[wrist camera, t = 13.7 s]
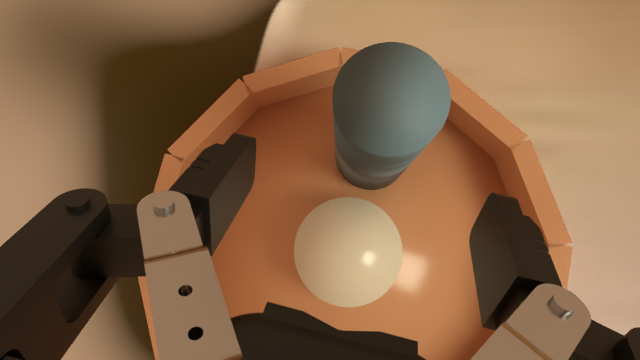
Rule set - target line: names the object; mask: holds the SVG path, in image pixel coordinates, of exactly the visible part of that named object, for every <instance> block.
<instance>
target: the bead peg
mask: <svg viewBox="0 0 640 360" xmlns="http://www.w3.org/2000/svg"><path fill="white" fill-rule="evenodd" d="M450 103H451V94H450V87H449V84H448V81H447V78H446V76H445V74H444V72H443V70H442V69H441V67H440V66H439V65H438V63H437V62H436V61H435V60H434V59H433V58H432V57H431V56H429V55H428V54H427V53H425V52H424V51H422V50H420V49H418V48H416V47H414V46H411V45H407V44H404V43H397V42H386V43H378V44H374V45H371V46H368V47H366V48H364V49H362V50H360V51H358V52H357V53H356V54H354V55H353V56H352V57H351V58H349V59H348V60H347V61H346V63H345V64H344V65H343V66H342V68H341V69H340V71H339V73H338V75H337V77H336V79H335V83H334V86H333V92H332V105H333V122H334V140H335V157H336V163H337V167H338V169H339V171H340V173H341V175H342V176H343V177H344V178H345V179H346V180H347V181H348V182H349V183H350V184H352V185H354V186H356V187H358V188H361V189H365V190H377V189H382V188H384V187H387V186H389V185H390V184H392V183H393V182H394V181H395V180H396V179H398V177H399V176H400V175H401V174H402V173H403V172H404V171H405V170H406V168H407V167H408V166H409V165H410V164H411V163H412V162H413V161H414V160H415V158H416V157H417V156H418V155H419V154H420V153H421V152H422V151H423V150H424V148H425V147H426V146H427V145H428V144H429V143H430V142H431V141H432V139H433V138H434V137H435V136H436V135H437V134H438V132H439V131H440V130H441V129H442V127H443V125H444V124H445V122H446V119H447V117H448V114H449V110H450Z"/></svg>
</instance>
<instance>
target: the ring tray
mask: <svg viewBox="0 0 640 360" xmlns="http://www.w3.org/2000/svg"><path fill="white" fill-rule="evenodd" d="M358 51H359V50H354V49H349V48H344V47H342V50H341V54H340V52H339V49H338V48H334V49H331V50H328V51H324V52H321V53H318V54H314V55H311V56H308V57H305V58H301V59H298V60H295V61H291V62H288V63H285V64H281V65H278V66H275V67H271V68H268V69H265V70H261V71H258V72H255V73H252V74H248V75H245V76H243V79H244V83H245V84H244V83H243V82H242V81H241V80H240V79H238V80H237V81H236V82H235V83H234V84H233V85H232V86H231V87H230V88H229V89H228V90H227V91H226V92H225V93H224V94H223V95H222V96H221V97H220V98H219V99H218V100H217V101H216V102H215V103H214V104H213V105H212V106H211V107H210V108H209V109H208V110H207V111H206V112H205V113H204V114H203V115H202V116H201V117H200V118H199V119H198V120H197V121H196V122H195V123H194V124H193V125H192V126H191V127H190V128H189V129H188V130H187V131H186V132H185V133H184V134H183V135H182V136H181V137H179V138H178V140H176V142H175V143H174V144H172V145H171V146H170V147H169V149H168V151H169V152H170V153H171V154H172V155H169V154H165V155H164V158H163V162H162V165H161V168H160V171H159V175H158V178H157V181H156V185H155V188H154V191H153V193H154V192H158V191H168V190H169V188H170V187H171V186H172V185H173V184H174V183H175V182H176V180H177V179H178V178H179V177H180V176H181V175H182V174H183V173H184V171H185V170H186V169H187V168H188V167H190V165H191V163H192V162H193V161H194V160H196V158H197V157H198V155H199V154H200V153H201V152H202V151H203V150H204V149H206V148H207V147H209V146H211V145H213V144H215V143H218V144H223V145H224V144H225V142H226V141H227V140H228V139H229V137H230V136H231V135H232V134H233V133H238V134H243V135H247V136H251V137H255V138H256V164H255V178H254V182H253V186H252V188H251V190H250V192H249V194H248V196H247V197H246V199H245V201H244V203H243V204H242V206H241V208H240V209H239V211H238V213H237V214H236V216H235V218H234V220H233V221H232V223H231V225H230V226H229V228H228V230H227V231H226V233H225V235H224V237H223V238H222V240H221V242H220V243H219V245H218V247H217V249H216V250H215V252H214V254H213V255H212V256H211V259H212V262H213V266H214V269H215V272H216V275H217V278H218V281H219V284H220V287H221V291H222V294H223V297H224V300H225V303H226V306H227V309H228V313H229V316H230V318H232V317H235V316H238V315H243V314H248V313H263V311H264V309H265V306H266V303H267V302H271V303H275V304H278V305H282V306H286V307H290V308H294V309H297V310H301V311H304V312H306V313H308V314H310V315H312V316H313V317H315V318H317V319H319V320H321V321H323V322H325V323H327V324H329V325H330V326H332V327H334V328H336V329H338V330H344V331H380V332H384V333H388V334H392V335H395V336H399V337H403V338H407V339H410V340H414V341H418V355H420V356H422V357H423V358H425V359H426V360H470V359H471V358H472V357H473V356H474V355H475V354H476V353H477V351H478V350H479V349H480V348H481V347H482V346H483V345H484V344H485V342H486V341H487V340H488V339H489V338H490V337H491V336H492V334H493V333H494V332H495V330H491V329H487V328H483V327H482V322H481V316H480V310H479V303H478V297H477V290H476V284H475V278H474V271H473V265H472V258H471V252H470V246H469V238H470V233H471V229H472V227H473V225H474V223H475V221H476V219H477V217H478V215H479V213H480V211H481V209H482V207H483V205H484V203H485V201H486V199H487V198H488V196H489V195H490V194H491V193H497V194H501V195H506V196H510V197H514V198H517V199H518V202H519V205H520V207H521V210H522V213H523V215H525V216H529V217H530V218H531V219H532V220H533V221H534V222H535V223H536V225H537V226H538V227H539V228H540V229H541V232H542V235H543V237H544V240H545V244H546V245H547V248H548V250H549V254H550V255H551V258H552V261H553V263H554V266H555V268H556V271H557V274H558V276H559V279H560V281H561V284H562V287H563V288H565V289H567V283H568V276H569V269H570V261H571V254H572V247H569V246H564V245H565V244H568V243H572V242H571V239H570V237H569V234H568V232H567V229H566V227H565V224H564V222H563V219H562V217H561V215H560V212H559V210H558V207H557V205H556V202H555V200H554V197H553V195H552V192H551V190H550V187H549V185H548V182H547V180H546V177H545V175H544V173H543V170H542V168H541V165H540V163H539V160H538V158H537V155H536V153H535V150H534V148H533V145H532V143H531V140H527V141H523V140H524V139H525V138H526V137H527V135H526V134H525V133H523V132H522V131H521V130H520V129H519V128H517V127H516V126H515V125H514V124H512V123H511V122H510V121H509V120H508V119H506V118H505V117H504V116H503V115H501V114H500V113H499V112H498V111H497V110H495V109H494V108H493V107H492V106H490V105H489V104H488V103H487V102H486V101H484V100H483V99H482V98H481V97H479V96H478V95H477V94H476V93H475V92H473V91H472V90H471V89H470V88H468V87H467V86H466V85H465V84H464V83H462V82H461V81H460V80H459V79H457V78H456V77H455V76H454V75H453V74H451V73H450V72H449V71H448V70H446V69H445V70H444V71H443V72H444V74H445V76H446V78H447V81H448V84H449V87H450V94H451V103H450V110H449V114H448V117H447V119H446V122H445V124H444V125H443V127H442V129H441V130H440V131H439V132H438V134H437V135H436V136H435V137H434V138H433V139H432V141H431V142H430V143H429V144H428V145H427V146H426V147H425V148H424V150H423V151H422V152H421V153H420V154H419V155H418V156H417V157H416V158H415V160H414V161H413V162H412V163H411V164H410V165H409V166H408V167H407V168H406V170H405V171H404V172H403V173H402V174H401V175H400V176H399V177H398V179H396V180H395V181H394V182H393V183H392V184H390V185H389V186H387V187H384V188H382V189H377V190H365V189H361V188H358V187H356V186H354V185H352V184H350V183H349V182H348V181H347V180H346V179H345V178H344V177H343V176H342V175H341V173H340V171H339V169H338V167H337V163H336V157H335V140H334V122H333V105H332V92H333V86H334V83H335V79H336V77H337V75H338V73H339V71H340V69H341V68H342V66H343V65H344V64H345V63H346V61H347V60H348V59H349V58H351V57H352V56H353V55H354V54H356V53H357V52H358ZM522 141H523V142H522ZM138 280H139V285H140V290H141V294H142V299H143V304H144V309H145V313H146V318H147V323H148V327H149V333H150V337H151V342H152V347H153V351H154V356H155V360H159V357H158V351H157V344H156V338H155V331H154V325H153V318H152V312H151V305H150V299H149V292H148V286H147V279H146V276H142V277H138Z"/></svg>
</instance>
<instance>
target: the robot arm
mask: <svg viewBox="0 0 640 360" xmlns="http://www.w3.org/2000/svg"><path fill="white" fill-rule="evenodd" d="M255 164H256V138H255V137H251V136H247V135H243V134H238V133H233V134H232V135H231V136H230V137H229V139H228V140H227V141H226V142H225V144H224V145H223V144H218V143H215V144H213V145H211V146H209V147H207V148H206V149H204V150H203V151H202V152H201V153H200V154H199V155H198V157H197V158H196V160H194V161H193V162H192V163H191V165H190V167H188V168H187V169H186V170H185V171H184V173H183V174H182V175H181V176H180V177H179V178H178V179H177V180H176V182H175V183H174V184H173V185H172V186H171V187H170V188H169V190H168V191H158V192H154V193H152V194H150V195H147V196H146V197H144V198H143V199H142V200H141V201H140V202H139V203H138V204H134V205H123V204H122V205H119V204H108V202H107V198H106V196H105V195H104V194H103V193H102V192H100V191H98V190H94V189H76V190H72V191H68V192H66V193H63V194H61V195H59V196H58V197H56V198H55V199H54V200H53V201H51V202H50V203H49V204H48V205H47V206H46V207H45V208H43V209H42V210H41V211H40V212H39V213H38V214H37V215H36V216H35V217H33V218H32V219H31V220H30V221H29V222H28V223H27V224H26V225H24V226H23V227H22V228H21V229H20V230H19V231H18V232H16V233H15V234H14V235H13V236H12V237H11V238H10V239H9V240H7V241H6V242H5V243H4V244H3V245H2V246H1V247H0V360H61V358H62V357H63V355H64V354H65V353H66V351H67V350H68V348H69V347H70V346H71V344H72V343H73V342H74V340H75V339H76V337H77V336H78V335H79V333H80V332H81V330H82V329H83V328H84V326H85V325H86V323H87V322H88V321H89V319H90V318H91V316H92V315H93V314H94V312H95V311H96V309H97V308H98V307H99V305H100V303H101V302H102V301H103V300H104V298H105V297H106V295H107V294H108V293H109V291H110V290H111V288H112V287H113V285H114V284H115V283H116V281H117V280H118V279H119V277H142V276H146V279H147V286H148V292H149V299H150V305H151V312H152V318H153V325H154V331H155V338H156V344H157V351H158V357H159V360H426V359H425V358H423V357H422V356H420V355H418V341H414V340H410V339H407V338H403V337H399V336H395V335H392V334H388V333H384V332H380V331H344V330H338V329H336V328H334V327H332V326H330V325H329V324H327V323H325V322H323V321H321V320H319V319H317V318H315V317H313V316H312V315H310V314H308V313H306V312H304V311H301V310H297V309H294V308H290V307H286V306H282V305H278V304H275V303H271V302H267V303H266V306H265V309H264V311H263V313H248V314H243V315H238V316H235V317H232V318H230V316H229V313H228V309H227V306H226V303H225V300H224V297H223V294H222V291H221V287H220V284H219V281H218V278H217V275H216V272H215V269H214V266H213V262H212V259H211V256H212V255H213V254H214V252H215V250H216V249H217V247H218V245H219V243H220V242H221V240H222V238H223V237H224V235H225V233H226V231H227V230H228V228H229V226H230V225H231V223H232V221H233V220H234V218H235V216H236V214H237V213H238V211H239V209H240V208H241V206H242V204H243V203H244V201H245V199H246V197H247V196H248V194H249V192H250V190H251V188H252V186H253V182H254V178H255ZM469 246H470V252H471V258H472V265H473V271H474V278H475V284H476V290H477V297H478V303H479V310H480V316H481V322H482V327H483V328H487V329H491V330H495V332H494V333H493V334H492V336H491V337H490V338H489V339H488V340H487V341H486V342H485V344H484V345H483V346H482V347H481V348H480V349H479V350H478V351H477V353H476V354H475V355H474V356H473V357H472V358H471V359H470V360H640V328H633V329H631V330H630V331H629V332H628V333H627V334H626V335H624V336H623V335H621V334H619V333H617V332H615V331H613V330H611V329H609V328H607V327H605V326H603V325H601V324H599V323H597V322H595V321H593V320H592V319H591V315H590V313H589V311H588V309H587V307H586V306H585V304H584V303H583V302H582V301H581V300H580V299H579V298H578V297H577V296H576V295H574V294H573V293H572V292H570V291H568V290H567V289H565V288H563V287H562V284H561V281H560V279H559V276H558V274H557V271H556V268H555V266H554V263H553V261H552V258H551V255H550V254H549V250H548V248H547V245H546V244H545V240H544V237H543V235H542V232H541V229H540V228H539V227H538V226H537V225H536V223H535V222H534V221H533V220H532V219H531V218H530V217H529V216H525V215H523V213H522V210H521V207H520V205H519V202H518V199H517V198H514V197H510V196H506V195H501V194H497V193H491V194H490V195H489V196H488V198H487V199H486V201H485V203H484V205H483V207H482V209H481V211H480V213H479V215H478V217H477V219H476V221H475V223H474V225H473V227H472V229H471V233H470V238H469Z"/></svg>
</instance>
